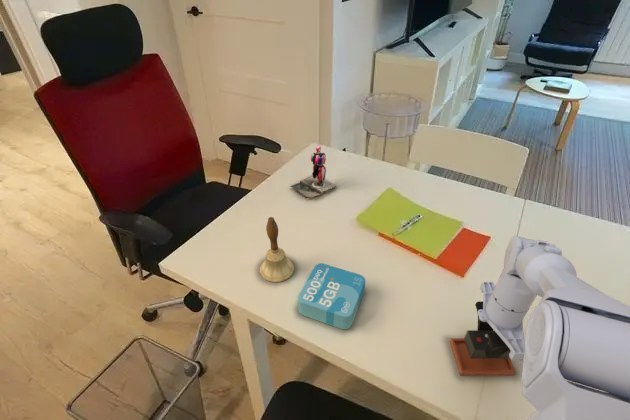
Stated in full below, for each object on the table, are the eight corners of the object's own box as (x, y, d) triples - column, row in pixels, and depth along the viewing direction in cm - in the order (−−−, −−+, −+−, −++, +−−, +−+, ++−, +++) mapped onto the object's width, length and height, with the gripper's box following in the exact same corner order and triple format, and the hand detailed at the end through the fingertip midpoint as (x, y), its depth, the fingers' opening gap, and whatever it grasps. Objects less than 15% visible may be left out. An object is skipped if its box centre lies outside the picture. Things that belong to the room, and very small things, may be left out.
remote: (499, 339, 72) (504, 330, 70) (508, 358, 68) (513, 349, 66) (463, 339, 72) (467, 330, 70) (470, 358, 68) (474, 349, 66)
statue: (315, 179, 123) (318, 136, 114) (335, 191, 117) (340, 147, 109) (289, 189, 116) (291, 144, 108) (309, 202, 111) (313, 155, 102)
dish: (499, 341, 75) (501, 338, 74) (513, 375, 69) (515, 372, 69) (449, 341, 75) (450, 338, 74) (460, 375, 69) (461, 372, 69)
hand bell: (260, 284, 86) (253, 233, 76) (259, 258, 93) (252, 209, 83) (296, 280, 87) (293, 229, 77) (292, 255, 94) (289, 205, 84)
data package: (350, 319, 74) (295, 300, 77) (349, 332, 77) (296, 313, 80) (367, 276, 82) (317, 261, 86) (365, 289, 85) (317, 274, 89)
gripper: (472, 265, 66) (454, 311, 75) (504, 337, 55) (479, 382, 63) (511, 265, 66) (489, 311, 75) (552, 337, 55) (520, 382, 63)
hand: (487, 344), depth 69 cm, fingers closed on remote, 4 cm apart
